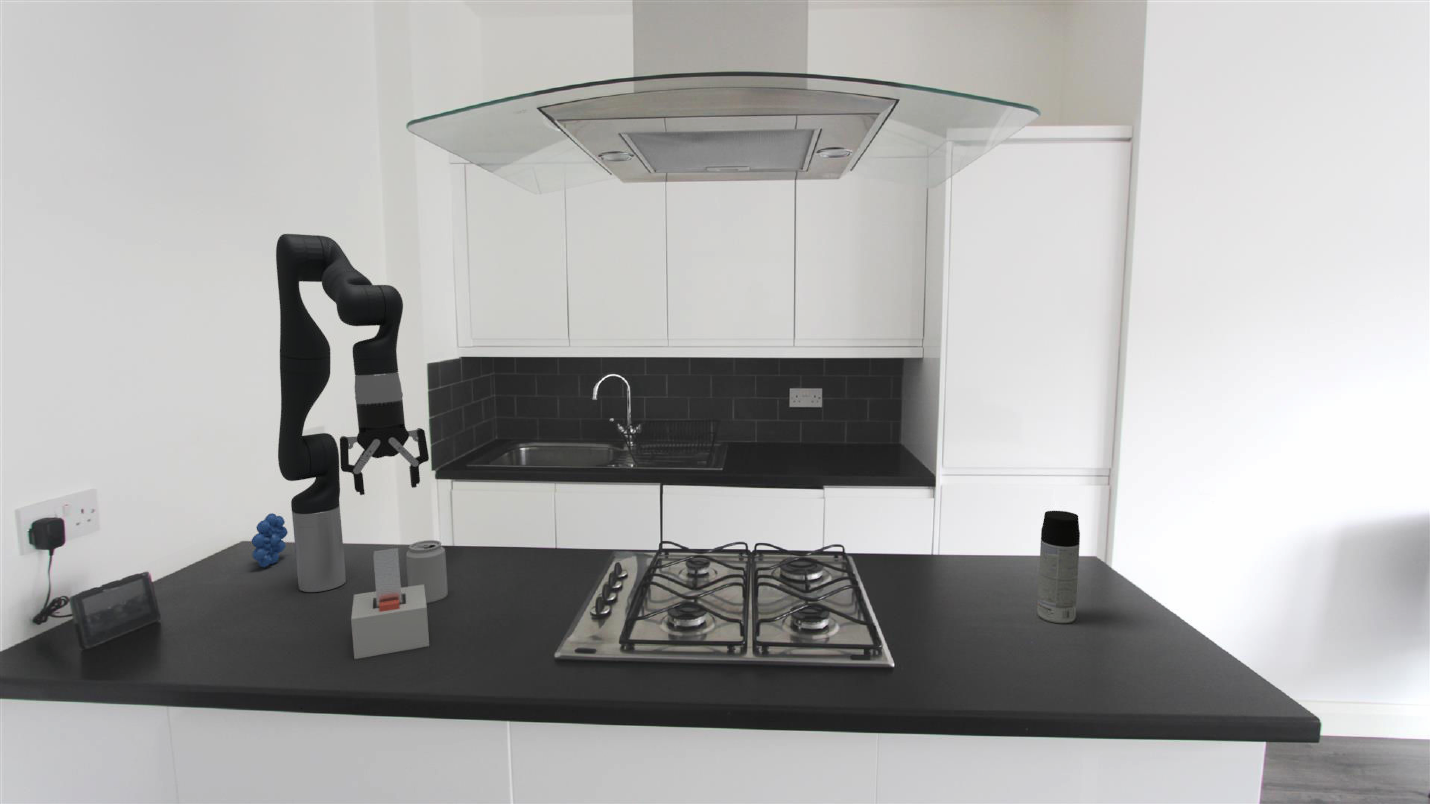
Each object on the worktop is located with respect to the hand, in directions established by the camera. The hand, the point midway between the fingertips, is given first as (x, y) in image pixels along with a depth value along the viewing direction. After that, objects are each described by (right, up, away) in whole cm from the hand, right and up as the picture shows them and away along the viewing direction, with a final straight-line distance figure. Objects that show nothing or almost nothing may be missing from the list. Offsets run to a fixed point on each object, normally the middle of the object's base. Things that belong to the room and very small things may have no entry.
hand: (388, 490), depth 137 cm
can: (-1, -25, +23) cm, 34 cm away
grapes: (-48, -23, +46) cm, 70 cm away
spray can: (+123, -25, +9) cm, 125 cm away
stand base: (0, -28, +3) cm, 28 cm away
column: (0, -27, +2) cm, 27 cm away
